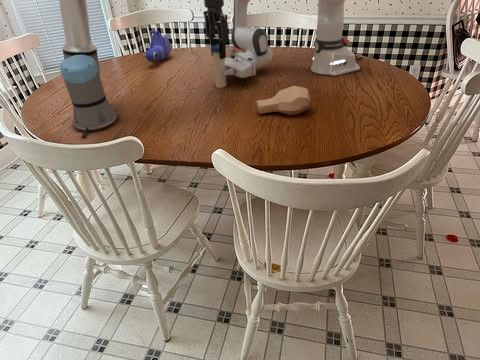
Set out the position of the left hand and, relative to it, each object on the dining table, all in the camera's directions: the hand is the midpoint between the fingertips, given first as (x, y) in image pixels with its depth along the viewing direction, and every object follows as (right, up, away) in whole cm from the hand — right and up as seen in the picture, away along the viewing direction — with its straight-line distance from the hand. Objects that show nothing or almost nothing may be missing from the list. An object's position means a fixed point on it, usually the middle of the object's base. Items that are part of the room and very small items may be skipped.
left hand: (218, 56), depth 149 cm
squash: (+25, -27, -17) cm, 40 cm away
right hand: (0, -5, +3) cm, 6 cm away
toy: (-34, +11, +39) cm, 53 cm away
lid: (0, +3, -2) cm, 4 cm away
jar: (+1, -10, +7) cm, 13 cm away
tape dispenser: (+10, +12, +37) cm, 40 cm away
